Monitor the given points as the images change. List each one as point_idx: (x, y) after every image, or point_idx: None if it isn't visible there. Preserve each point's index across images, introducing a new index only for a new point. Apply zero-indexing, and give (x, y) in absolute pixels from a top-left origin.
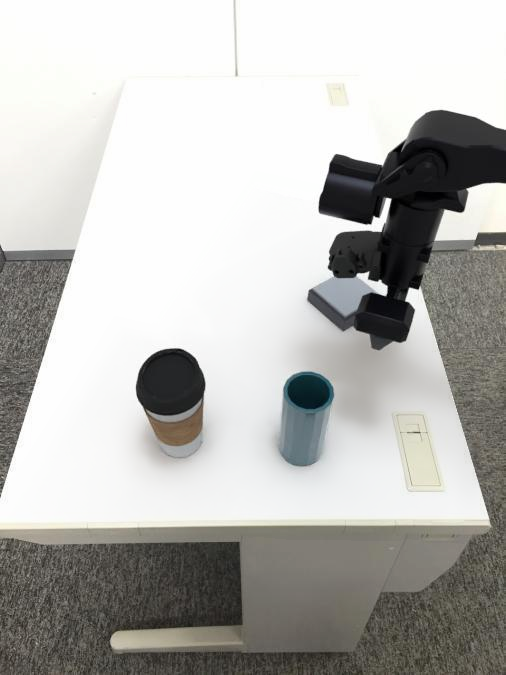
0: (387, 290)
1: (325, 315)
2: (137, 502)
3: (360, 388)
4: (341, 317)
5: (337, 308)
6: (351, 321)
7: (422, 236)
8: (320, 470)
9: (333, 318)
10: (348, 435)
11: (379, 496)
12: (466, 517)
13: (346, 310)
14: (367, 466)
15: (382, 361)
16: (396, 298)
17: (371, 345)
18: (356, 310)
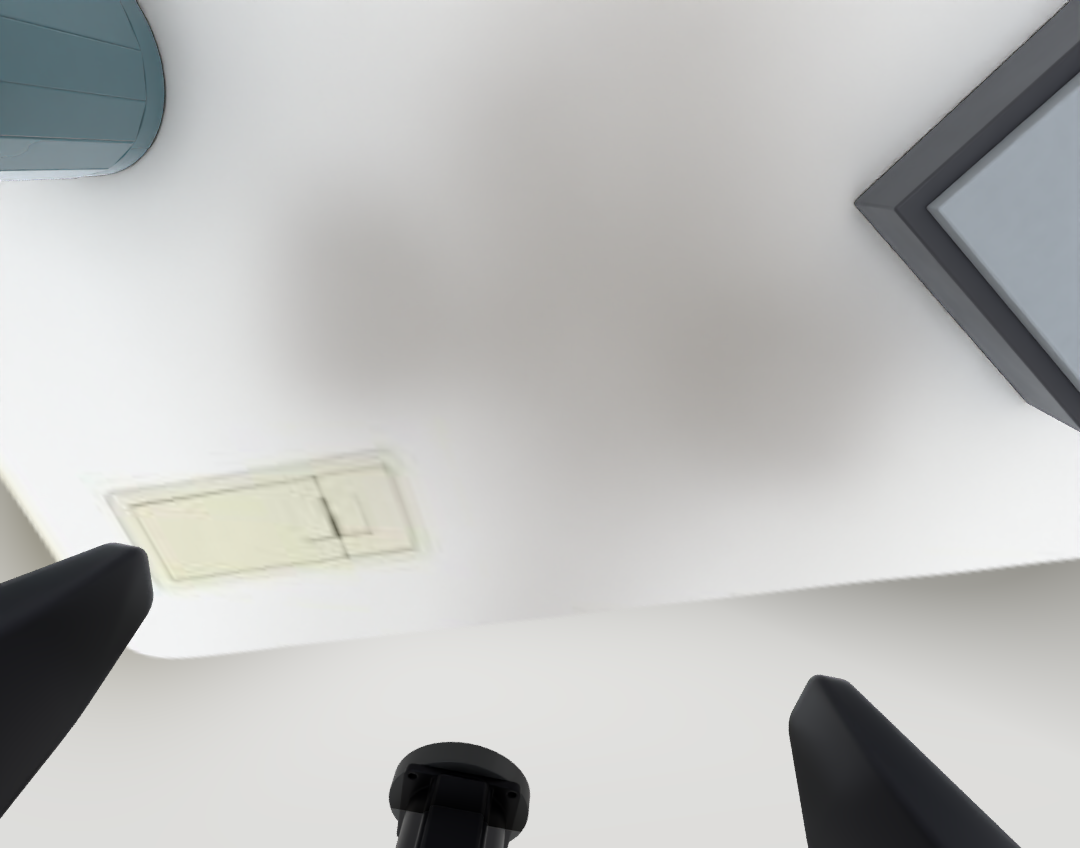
0: (904, 812)
1: (999, 67)
2: None
3: (477, 322)
4: (932, 181)
5: (1019, 140)
6: (911, 249)
7: None
8: None
9: (952, 127)
10: (218, 285)
11: (35, 410)
12: None
13: (991, 211)
14: (122, 367)
15: (654, 412)
16: (811, 799)
17: (50, 567)
18: (989, 279)
